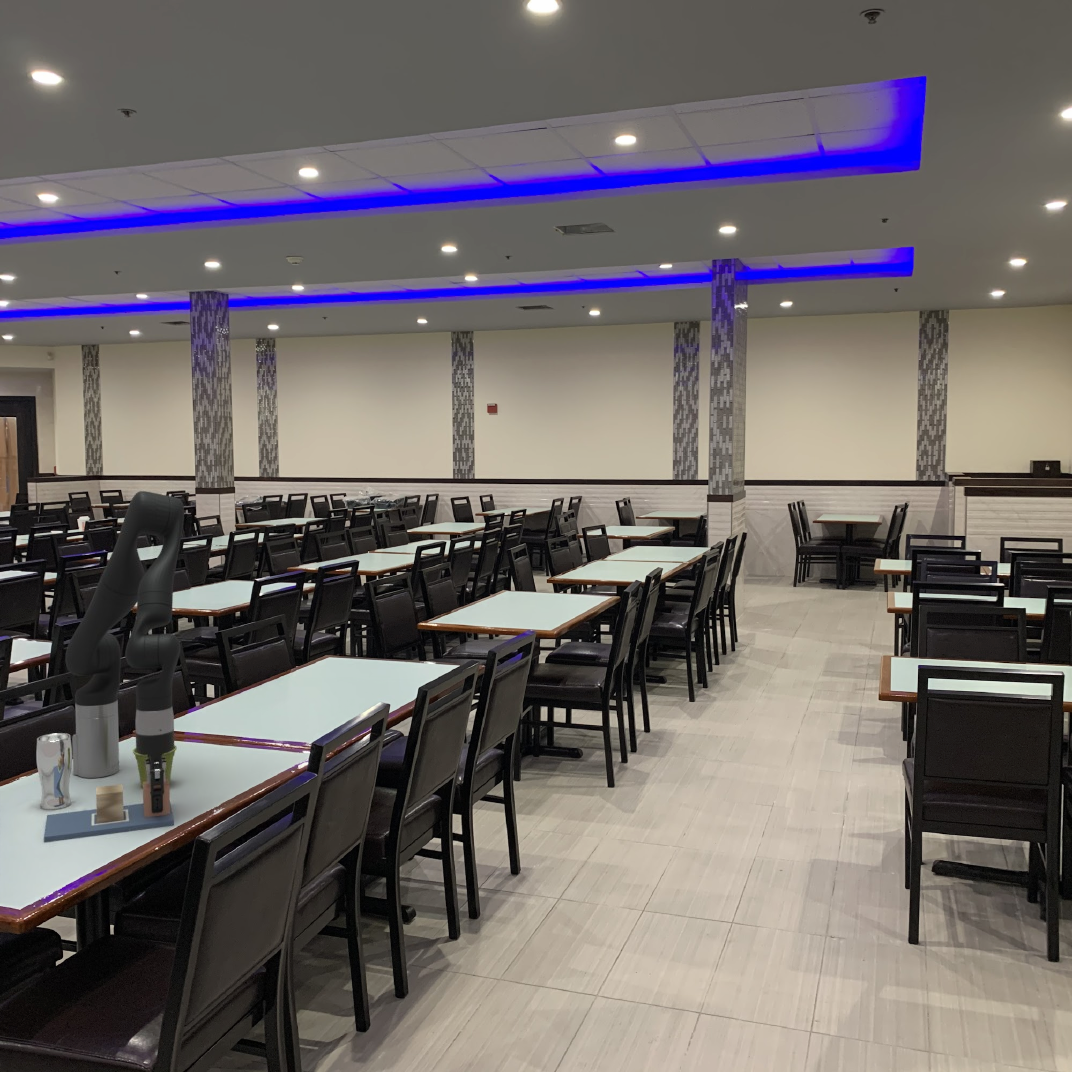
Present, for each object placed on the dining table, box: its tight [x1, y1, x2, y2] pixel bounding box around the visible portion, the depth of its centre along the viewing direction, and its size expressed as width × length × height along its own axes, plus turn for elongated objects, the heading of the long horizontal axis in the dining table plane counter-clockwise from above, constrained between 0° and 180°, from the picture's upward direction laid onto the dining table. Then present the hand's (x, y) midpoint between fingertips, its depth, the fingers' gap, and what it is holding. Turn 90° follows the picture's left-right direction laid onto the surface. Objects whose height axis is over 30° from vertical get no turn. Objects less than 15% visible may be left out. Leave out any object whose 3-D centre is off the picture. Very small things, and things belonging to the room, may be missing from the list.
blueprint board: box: [43, 802, 175, 843], centre depth 206 cm, size 24×13×1 cm, turn 114°
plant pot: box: [132, 744, 178, 788], centre depth 228 cm, size 9×9×9 cm
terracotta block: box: [142, 779, 171, 817], centre depth 209 cm, size 5×5×6 cm
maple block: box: [95, 783, 124, 824], centre depth 205 cm, size 5×5×6 cm
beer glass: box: [36, 732, 73, 811], centre depth 215 cm, size 7×7×15 cm
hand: (156, 807), depth 209 cm, fingers closed on terracotta block, 5 cm apart
